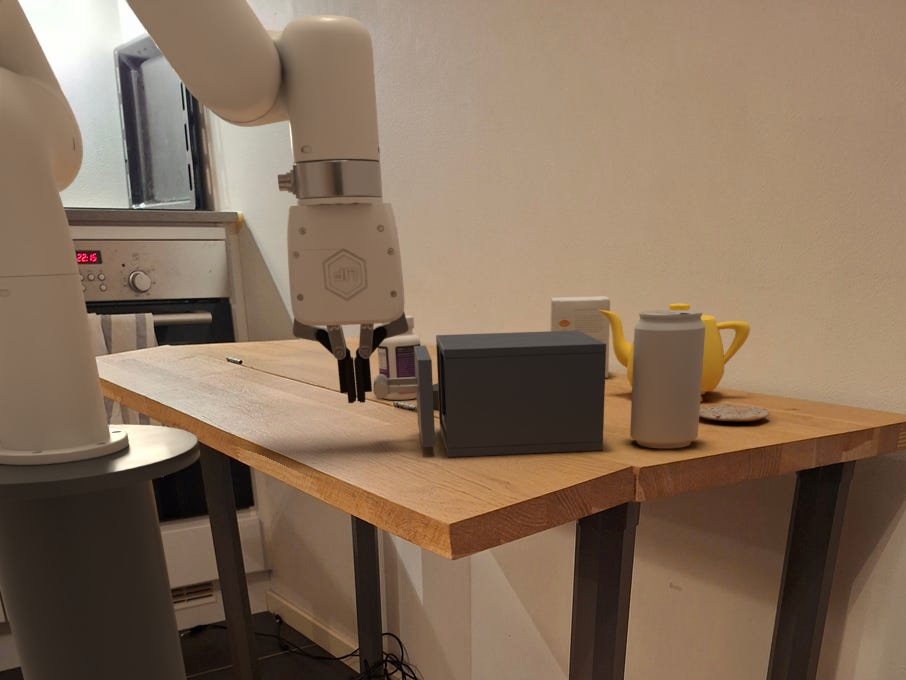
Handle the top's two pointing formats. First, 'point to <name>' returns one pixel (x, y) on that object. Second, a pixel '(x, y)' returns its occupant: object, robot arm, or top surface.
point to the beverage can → (667, 378)
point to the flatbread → (733, 412)
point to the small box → (582, 318)
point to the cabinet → (522, 392)
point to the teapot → (712, 346)
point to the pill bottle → (399, 358)
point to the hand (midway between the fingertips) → (357, 400)
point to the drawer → (418, 392)
